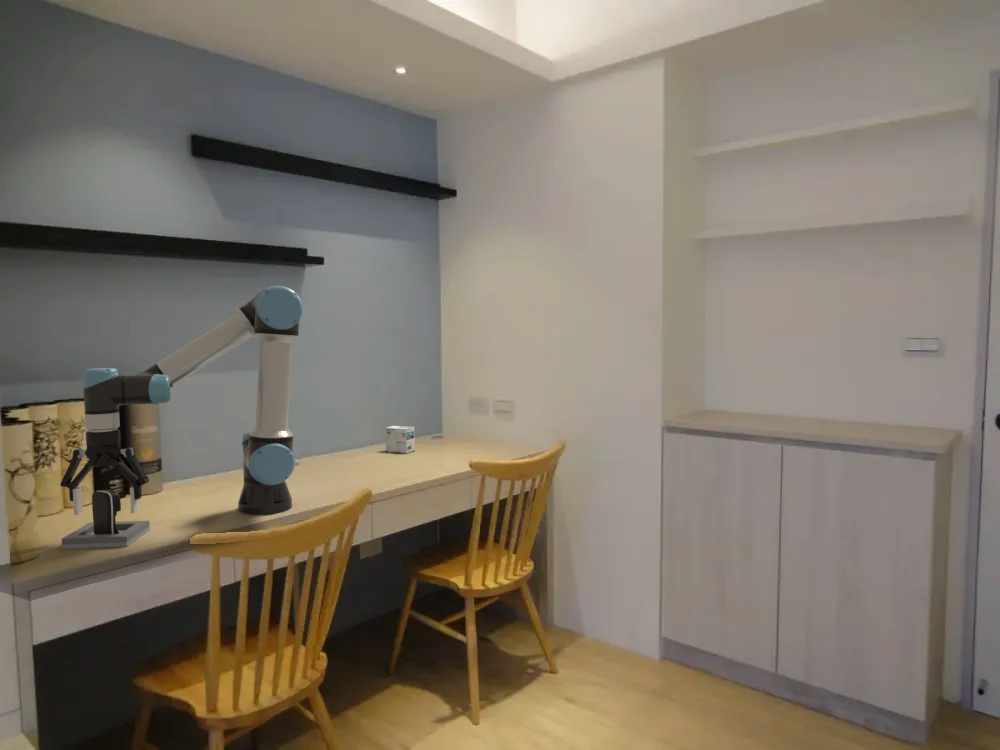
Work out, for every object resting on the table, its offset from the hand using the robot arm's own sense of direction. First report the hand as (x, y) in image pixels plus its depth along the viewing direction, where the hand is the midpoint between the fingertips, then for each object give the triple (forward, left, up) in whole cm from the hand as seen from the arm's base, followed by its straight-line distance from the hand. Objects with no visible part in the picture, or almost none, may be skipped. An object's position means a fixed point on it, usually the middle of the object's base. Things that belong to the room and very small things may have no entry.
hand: (106, 512), depth 176 cm
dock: (0, 0, -7) cm, 7 cm away
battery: (0, 0, -6) cm, 6 cm away
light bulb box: (-69, -115, -7) cm, 134 cm away
